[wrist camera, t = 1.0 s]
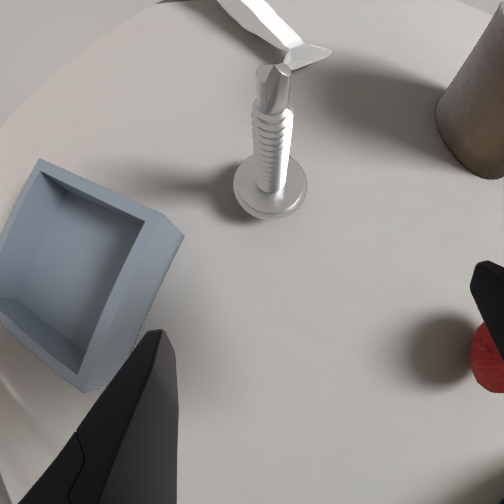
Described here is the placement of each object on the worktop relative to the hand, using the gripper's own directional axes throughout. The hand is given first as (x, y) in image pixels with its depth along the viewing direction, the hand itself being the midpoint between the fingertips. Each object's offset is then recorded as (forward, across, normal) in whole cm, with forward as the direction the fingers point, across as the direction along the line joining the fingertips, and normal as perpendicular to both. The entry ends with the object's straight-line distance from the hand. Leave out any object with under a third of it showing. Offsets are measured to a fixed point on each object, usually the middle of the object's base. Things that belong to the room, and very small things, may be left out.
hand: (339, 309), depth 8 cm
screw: (+16, 0, +4) cm, 16 cm away
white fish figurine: (+29, -2, -10) cm, 31 cm away
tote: (+13, +14, +6) cm, 20 cm away
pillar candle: (+18, -21, +1) cm, 28 cm away
